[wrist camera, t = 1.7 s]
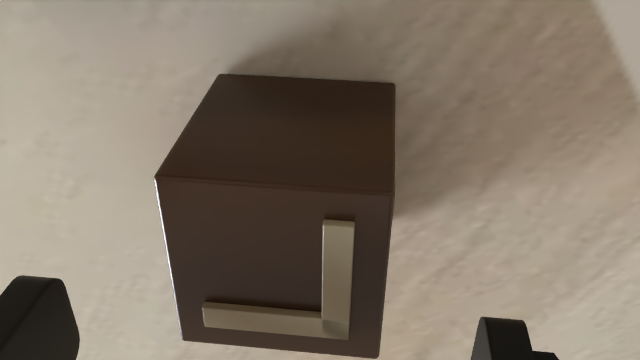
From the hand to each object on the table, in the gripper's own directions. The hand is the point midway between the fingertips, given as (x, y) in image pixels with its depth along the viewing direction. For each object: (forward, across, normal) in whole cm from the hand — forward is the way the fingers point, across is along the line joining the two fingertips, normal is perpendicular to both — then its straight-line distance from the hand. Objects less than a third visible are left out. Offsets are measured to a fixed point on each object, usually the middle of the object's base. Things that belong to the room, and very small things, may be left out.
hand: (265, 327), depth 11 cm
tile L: (+6, 0, 0) cm, 6 cm away
